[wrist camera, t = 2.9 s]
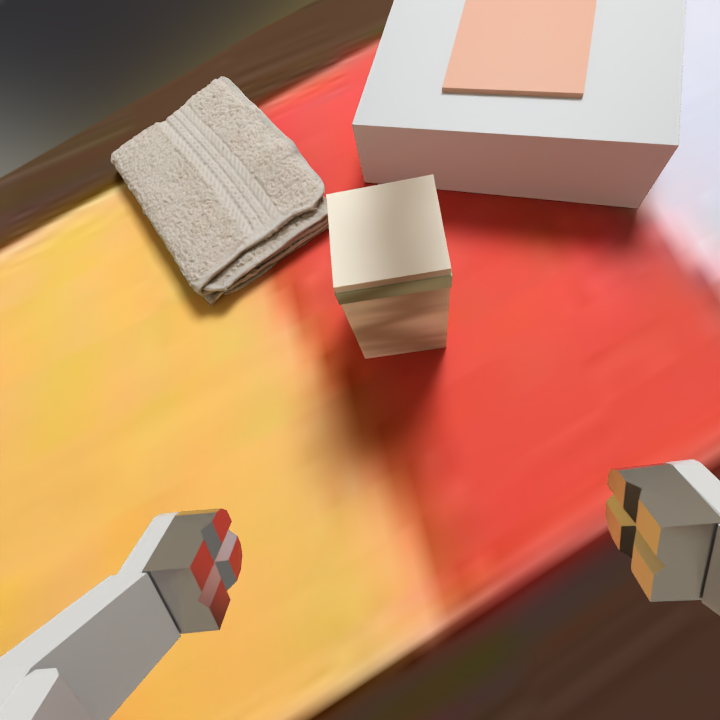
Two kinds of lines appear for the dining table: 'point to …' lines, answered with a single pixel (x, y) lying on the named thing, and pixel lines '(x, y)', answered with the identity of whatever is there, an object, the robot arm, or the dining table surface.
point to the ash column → (391, 265)
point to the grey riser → (526, 97)
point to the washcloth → (223, 189)
